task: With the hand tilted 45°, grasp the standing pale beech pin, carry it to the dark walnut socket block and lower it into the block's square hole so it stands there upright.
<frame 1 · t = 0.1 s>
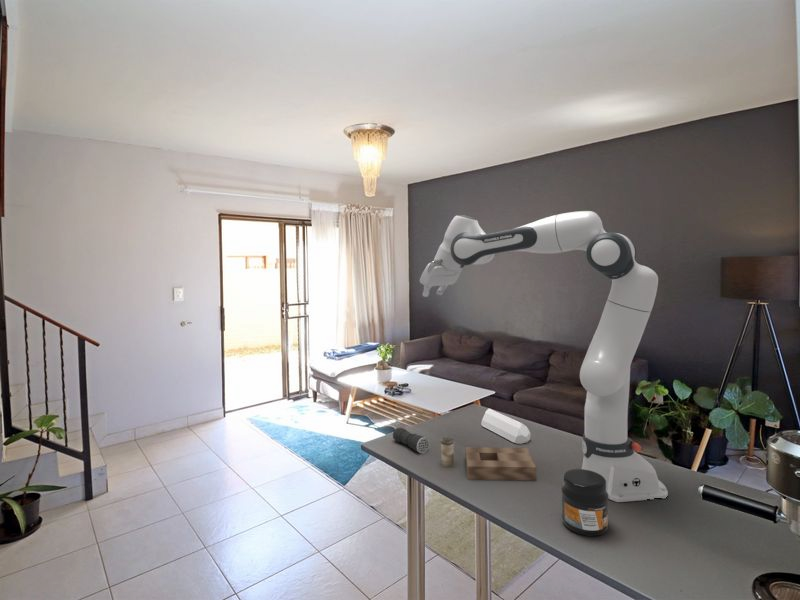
hand: (431, 295, 152), 54 cm above the table, fingers open, 8 cm apart
flashlight: (410, 447, 156), on the table
supplement container: (584, 525, 106), on the table
socket block: (498, 469, 136), on the table
white faceted prism: (504, 434, 165), on the table
beech pin: (447, 464, 141), on the table
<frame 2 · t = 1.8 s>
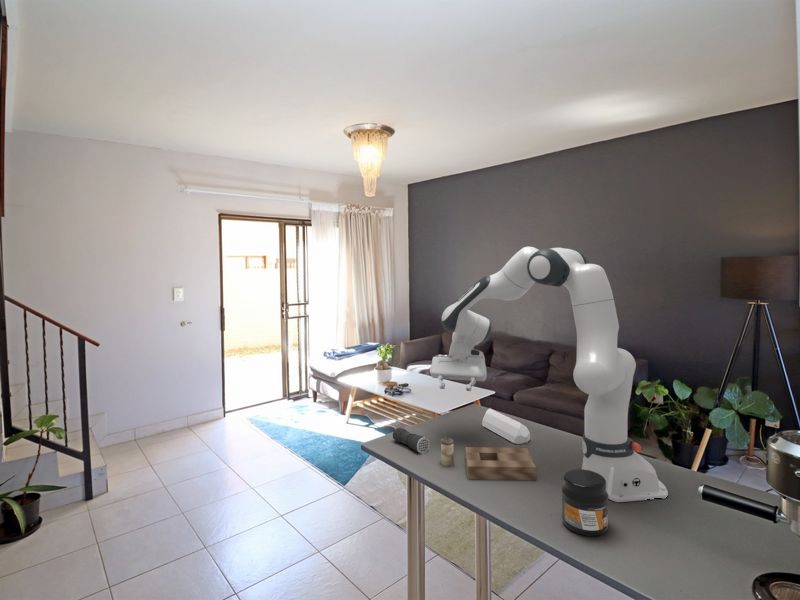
hand: (455, 389, 151), 21 cm above the table, fingers open, 8 cm apart
nothing on the table moved.
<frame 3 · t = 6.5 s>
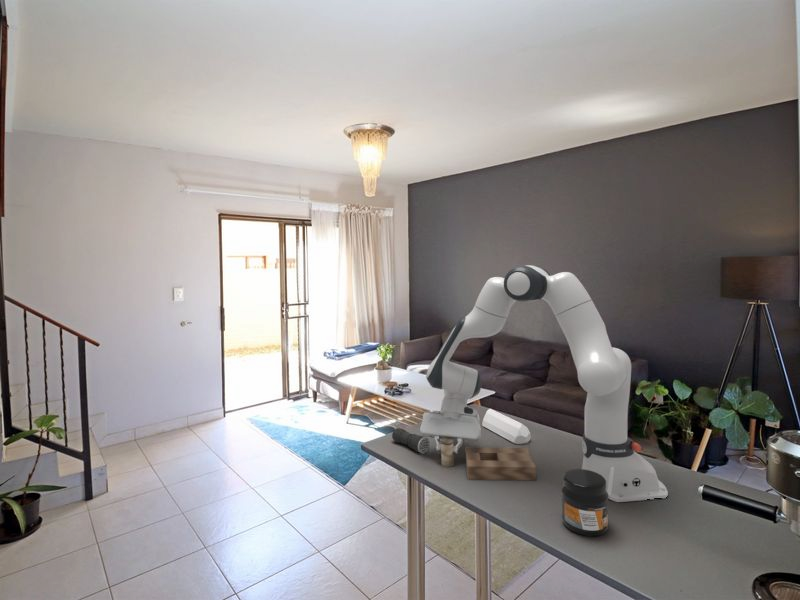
hand: (446, 451, 140), 4 cm above the table, fingers closed on beech pin, 4 cm apart
beech pin: (447, 464, 141), on the table, touching gripper
everything else where it was.
when the fingers open (6 cm above the table, at t = 13.0 s): beech pin drops 2 cm, resting in socket block.
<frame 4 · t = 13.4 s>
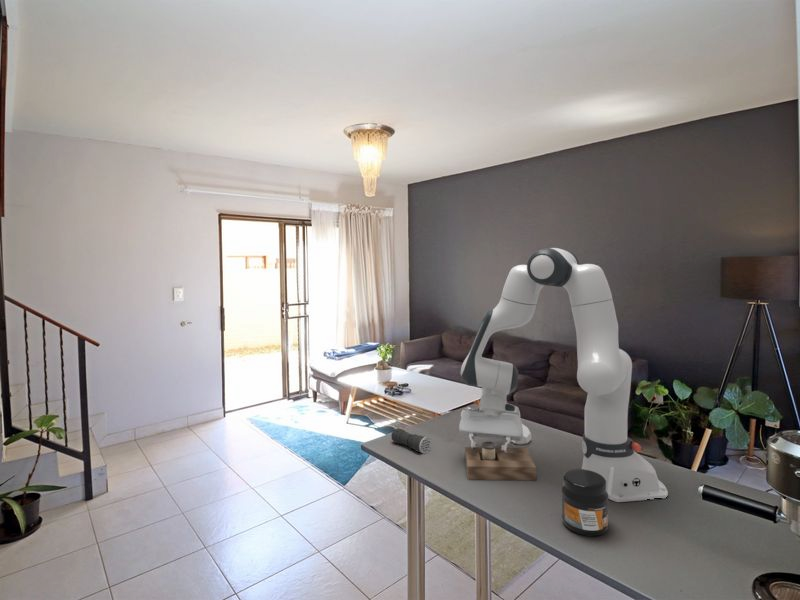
hand: (488, 450, 136), 6 cm above the table, fingers open, 8 cm apart
beech pin: (489, 468, 137), resting in socket block
everything else where it was.
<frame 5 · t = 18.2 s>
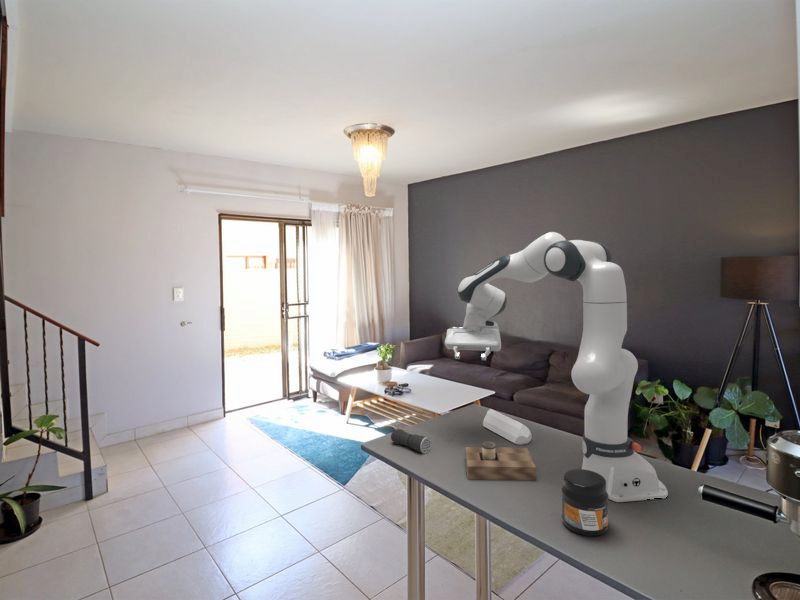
hand: (470, 358, 153), 31 cm above the table, fingers open, 8 cm apart
nothing on the table moved.
at the end: beech pin 0.0 cm from the target spot on the socket block, point 0.0 cm above the socket block's base; beech pin tilted 0°; the gripper is holding nothing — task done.
